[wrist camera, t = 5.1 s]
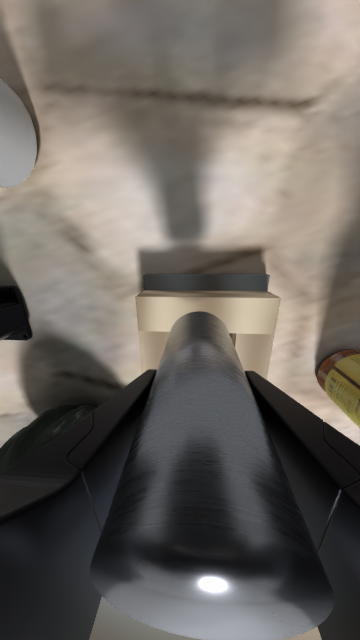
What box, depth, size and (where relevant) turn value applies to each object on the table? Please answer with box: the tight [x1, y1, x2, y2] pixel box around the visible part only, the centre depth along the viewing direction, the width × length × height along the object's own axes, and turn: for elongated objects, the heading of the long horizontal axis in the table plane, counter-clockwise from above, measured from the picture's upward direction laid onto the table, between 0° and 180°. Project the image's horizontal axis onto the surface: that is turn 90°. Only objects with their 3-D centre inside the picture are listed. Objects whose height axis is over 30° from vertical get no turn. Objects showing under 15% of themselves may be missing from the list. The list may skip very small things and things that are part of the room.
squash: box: [0, 404, 97, 473], centre depth 22 cm, size 14×15×15 cm
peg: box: [90, 311, 334, 640], centre depth 8 cm, size 4×4×10 cm
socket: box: [136, 274, 281, 379], centre depth 19 cm, size 12×15×4 cm
